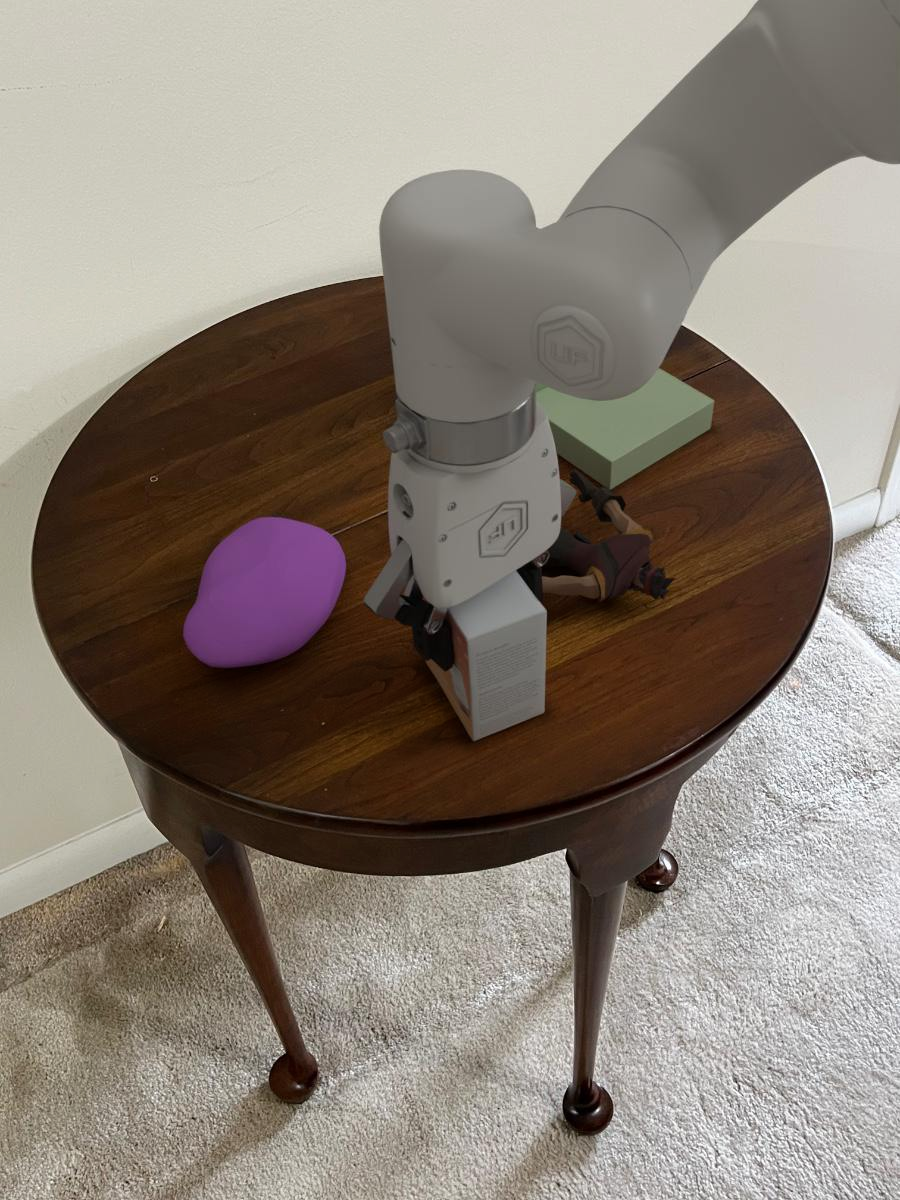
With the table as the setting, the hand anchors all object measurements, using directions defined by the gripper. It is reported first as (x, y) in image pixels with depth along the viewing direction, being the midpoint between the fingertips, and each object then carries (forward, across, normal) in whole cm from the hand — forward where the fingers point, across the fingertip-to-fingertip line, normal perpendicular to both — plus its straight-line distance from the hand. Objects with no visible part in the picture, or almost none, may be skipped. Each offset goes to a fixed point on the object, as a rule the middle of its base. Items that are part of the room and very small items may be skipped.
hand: (478, 627), depth 74 cm
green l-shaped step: (+6, +27, +17) cm, 32 cm away
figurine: (+6, +12, +6) cm, 15 cm away
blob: (+6, -8, +16) cm, 19 cm away
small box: (+6, 0, 0) cm, 6 cm away
